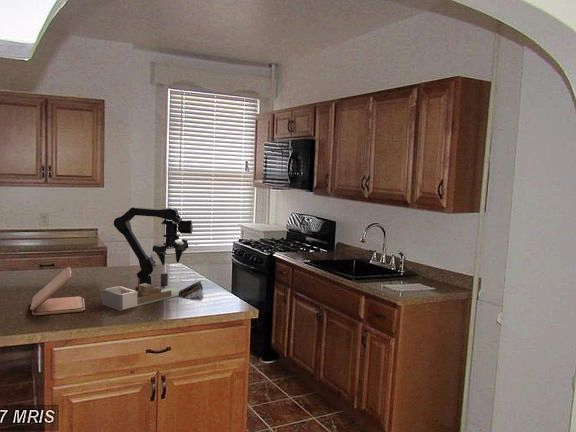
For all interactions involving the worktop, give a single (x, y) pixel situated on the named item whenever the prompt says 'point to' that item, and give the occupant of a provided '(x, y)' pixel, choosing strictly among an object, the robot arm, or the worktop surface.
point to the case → (56, 305)
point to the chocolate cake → (192, 291)
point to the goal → (119, 298)
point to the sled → (147, 288)
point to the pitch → (155, 296)
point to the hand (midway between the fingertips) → (170, 263)
